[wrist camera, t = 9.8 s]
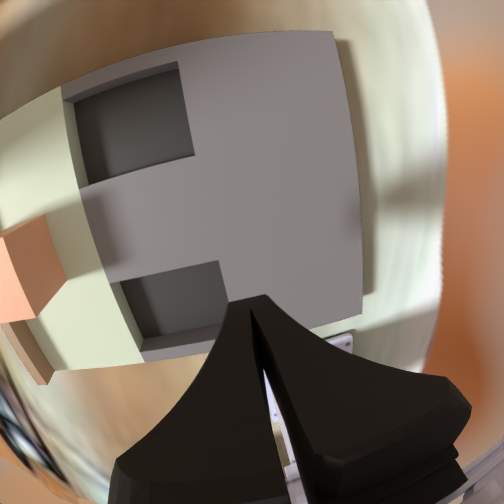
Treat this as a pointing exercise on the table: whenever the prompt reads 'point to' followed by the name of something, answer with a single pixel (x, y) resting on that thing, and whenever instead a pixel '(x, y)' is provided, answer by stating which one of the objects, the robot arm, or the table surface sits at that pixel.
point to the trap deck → (186, 197)
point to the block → (28, 270)
